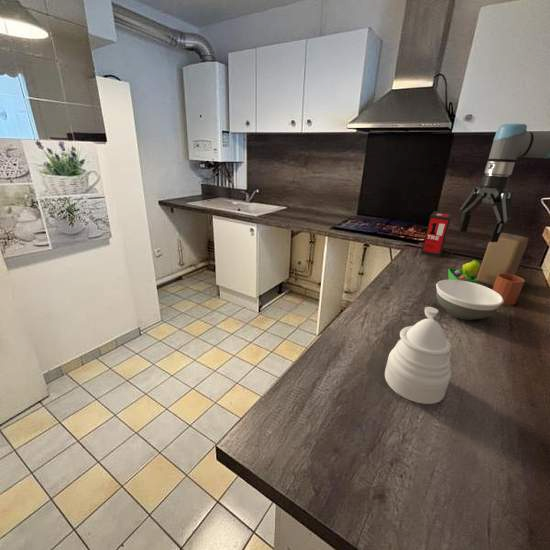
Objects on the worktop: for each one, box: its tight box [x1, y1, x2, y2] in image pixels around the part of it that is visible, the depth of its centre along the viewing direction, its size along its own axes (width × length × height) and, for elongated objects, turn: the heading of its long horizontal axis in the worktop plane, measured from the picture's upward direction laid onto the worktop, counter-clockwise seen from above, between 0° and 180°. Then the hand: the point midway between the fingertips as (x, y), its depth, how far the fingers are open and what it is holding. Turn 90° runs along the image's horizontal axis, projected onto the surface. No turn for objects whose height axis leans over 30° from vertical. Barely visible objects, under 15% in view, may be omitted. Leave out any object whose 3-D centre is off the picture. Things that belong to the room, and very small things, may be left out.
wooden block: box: [476, 232, 529, 287], centre depth 118 cm, size 10×10×20 cm
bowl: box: [435, 279, 503, 321], centre depth 95 cm, size 19×19×8 cm
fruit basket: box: [447, 259, 481, 284], centre depth 115 cm, size 11×9×11 cm
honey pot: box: [384, 306, 452, 405], centre depth 63 cm, size 13×13×18 cm
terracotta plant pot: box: [491, 273, 526, 306], centre depth 105 cm, size 8×8×9 cm
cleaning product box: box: [420, 210, 454, 258], centre depth 154 cm, size 16×9×20 cm, turn 147°
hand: (477, 236), depth 107 cm, fingers open, 13 cm apart
